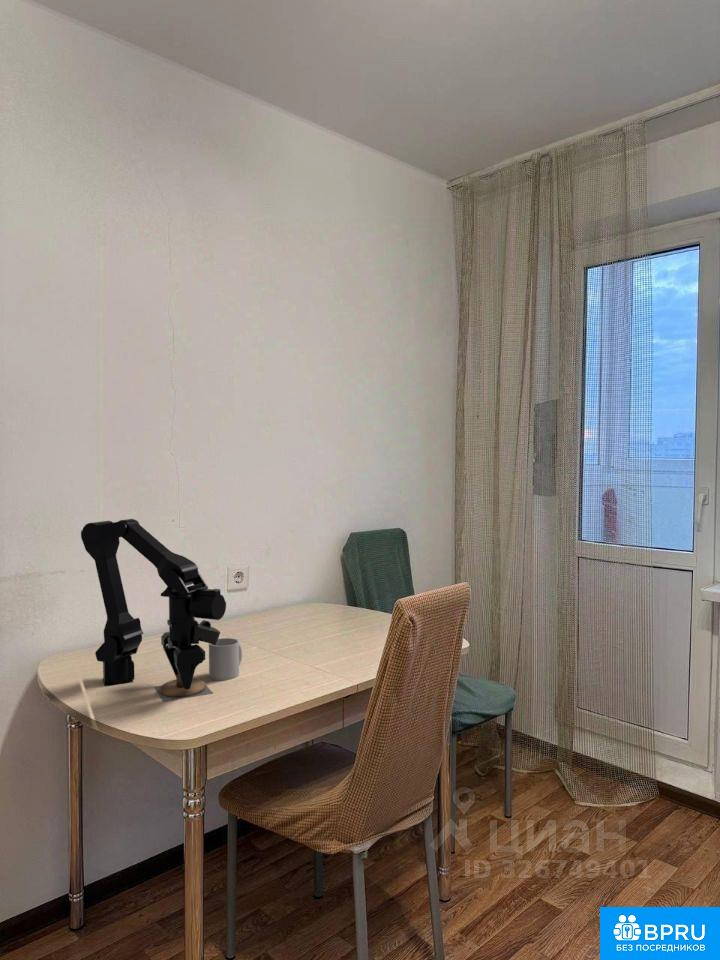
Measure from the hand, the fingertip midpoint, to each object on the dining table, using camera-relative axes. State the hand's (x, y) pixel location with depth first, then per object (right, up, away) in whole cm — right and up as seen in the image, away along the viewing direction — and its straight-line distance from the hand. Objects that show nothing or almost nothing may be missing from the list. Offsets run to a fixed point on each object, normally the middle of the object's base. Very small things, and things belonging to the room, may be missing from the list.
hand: (182, 683), depth 155 cm
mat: (0, -2, 0) cm, 2 cm away
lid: (0, -2, 0) cm, 2 cm away
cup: (+8, -2, +12) cm, 14 cm away
